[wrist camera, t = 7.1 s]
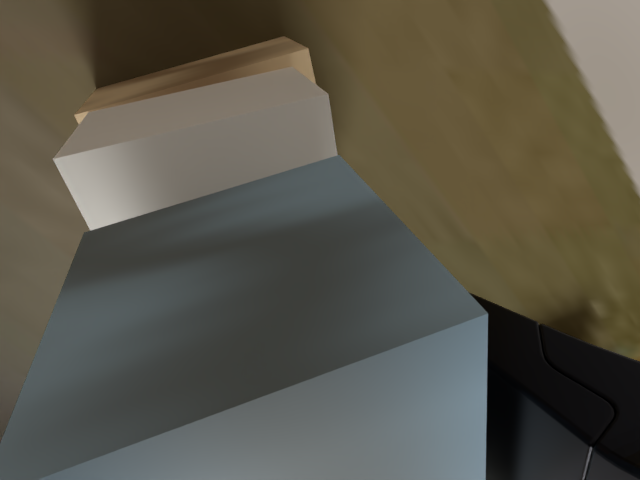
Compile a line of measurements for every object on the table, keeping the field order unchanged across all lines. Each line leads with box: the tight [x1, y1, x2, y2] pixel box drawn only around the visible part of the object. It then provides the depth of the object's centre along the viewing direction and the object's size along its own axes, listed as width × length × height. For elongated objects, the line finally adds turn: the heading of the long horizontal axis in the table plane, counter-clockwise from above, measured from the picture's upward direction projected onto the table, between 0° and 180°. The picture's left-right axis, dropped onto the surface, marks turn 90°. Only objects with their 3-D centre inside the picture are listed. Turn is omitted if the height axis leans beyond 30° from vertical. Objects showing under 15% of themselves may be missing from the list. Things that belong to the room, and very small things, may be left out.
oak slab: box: [74, 36, 316, 124], centre depth 16 cm, size 7×7×4 cm
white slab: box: [53, 67, 337, 231], centre depth 13 cm, size 6×6×4 cm
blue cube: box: [0, 155, 488, 480], centre depth 8 cm, size 5×5×5 cm
